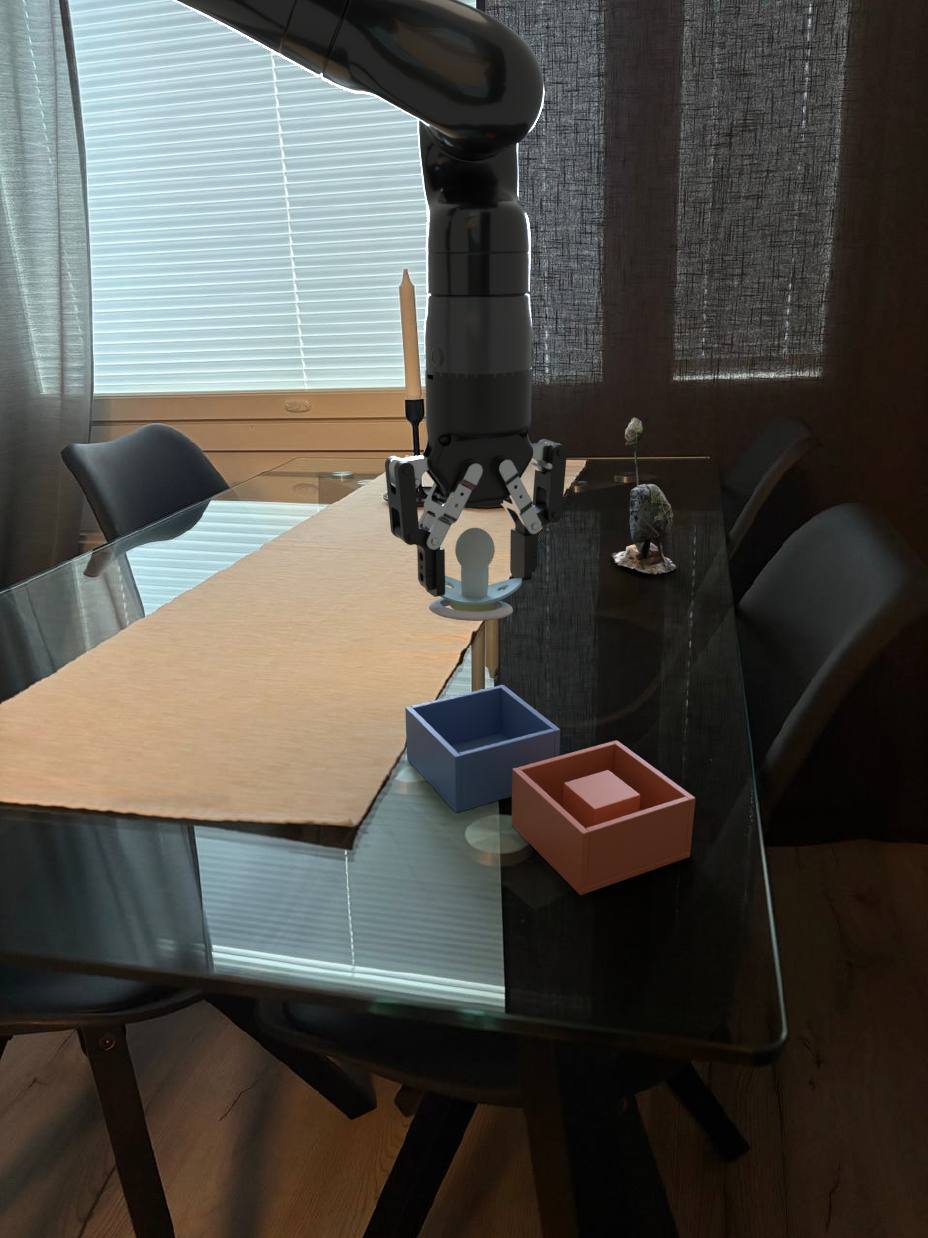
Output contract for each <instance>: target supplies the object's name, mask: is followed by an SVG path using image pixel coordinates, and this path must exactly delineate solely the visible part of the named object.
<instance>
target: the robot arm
mask: <svg viewBox="0 0 928 1238" xmlns="http://www.w3.org/2000/svg"><path fill="white" fill-rule="evenodd" d="M173 1H174V2H176V3H179V4H181V5H182V6H184V7H187V8H189V9H191V10H193V11H194V12H197V13H199V14H201V15H202V16H205V17H207V18H209V19H211V20H213V21H214V22H217V23H218V24H220V25H223V26H225V27H227V28H228V29H230V30H232V31H234V32H236V33H238V34H240V35H241V36H243V37H246V38H247V39H249V40H250V41H253V42H254V43H256V44H258V45H259V46H262V47H263V48H265V49H267V50H269V51H271V52H272V53H274V54H276V55H278V56H280V57H282V58H283V59H285V60H287V61H289V62H291V63H293V65H294V64H295V65H296V66H298V67H300V68H301V69H304V71H307V72H309V73H311V74H313V75H314V76H316V77H317V78H319V77H321V79H322V80H323V81H325V82H328V83H329V84H331V85H334V86H336V87H338V88H340V89H343V90H344V91H348V92H351V93H354V94H364V95H365V94H366V95H370V96H374V97H376V98H379V99H380V100H381V101H384V102H386V103H388V104H389V105H391V106H394V107H395V108H396V109H399V110H401V111H402V112H404V113H406V114H407V115H410V116H411V117H413V118H416V119H417V135H418V149H419V158H420V167H421V176H422V185H423V192H424V197H425V198H424V199H425V204H426V215H427V216H426V217H427V219H426V220H427V222H426V242H425V243H426V244H425V246H426V247H425V251H426V254H425V255H426V260H425V261H426V262H425V263H426V293H427V295H426V306H425V307H426V308H425V317H424V325H423V328H424V330H423V343H424V345H423V346H424V348H423V349H424V391H425V392H424V393H425V427H426V434H427V441H426V445H425V447H424V450H423V452H422V455H415V456H410V457H404V458H401V457H398V456H396V455H390V456H389V457H387V458H386V460H385V462H384V470H385V472H384V473H385V481H386V493H387V502H388V503H387V504H388V514H389V525H390V532H391V534H392V535H393V536H394V537H396V538H398V539H400V540H401V541H402V542H403V543H405V544H406V545H409V546H414V545H415V546H416V551H417V552H416V553H417V556H416V557H417V558H416V559H417V580H418V583H419V585H420V586H422V587H423V588H424V589H425V591H426V593H428V594H430V596H432V597H434V598H437V597H440V596H443V595H445V586H446V585H445V576H446V551H445V548H443V547H442V544H443V542H444V540H445V539H446V536H447V534H448V532H449V530H450V529H451V526H452V525H454V524H456V522H457V521H458V520H459V518H460V516H461V514H462V512H463V510H464V509H472V508H478V507H480V506H482V505H484V504H488V505H494V506H495V505H501V506H502V507H503V508H504V510H505V512H506V514H507V516H508V517H509V519H510V521H511V523H512V525H514V528H510V539H509V541H510V548H509V549H510V550H509V551H510V552H509V553H510V555H509V571H510V575H511V576H512V577H514V578H521V579H522V582H524V581H531V579H532V577H533V572H536V569H537V566H538V550H539V549H538V548H539V547H538V545H539V532H540V531H541V529H542V528H543V527H544V526H546V525H548V524H550V523H553V524H555V523H558V522H559V521H560V520H561V519H562V516H563V504H564V493H565V482H566V470H567V469H566V468H567V459H568V457H567V456H568V449H567V447H566V446H565V445H564V444H562V443H558V442H555V441H552V440H549V439H546V438H542V439H540V440H539V441H538V442H536V443H531V440H530V438H529V428H530V427H531V423H532V385H533V383H532V381H533V354H534V348H533V340H534V339H533V334H534V333H533V319H532V311H531V309H532V308H531V295H530V294H529V293H530V292H531V227H530V221H529V217H528V213H527V211H526V209H525V208H524V206H523V205H522V204H521V200H520V196H519V195H520V194H519V186H520V185H519V144H520V142H522V141H523V140H525V138H526V137H527V136H528V135H529V134H530V132H531V131H532V130H533V129H534V127H535V125H536V123H537V121H538V119H539V117H540V115H541V112H542V109H543V106H544V101H545V80H544V74H543V71H542V68H541V64H540V62H539V60H538V58H537V56H536V54H535V51H533V49H532V47H530V45H529V44H528V42H526V41H525V39H524V38H522V36H520V35H519V34H518V32H516V31H515V30H513V29H512V28H511V27H509V26H508V25H506V24H505V23H504V22H502V21H500V20H498V19H497V18H496V17H494V16H492V15H490V14H489V13H486V12H485V11H483V10H481V9H479V8H477V7H474V6H472V5H470V4H467V3H465V2H463V1H461V0H173ZM530 464H531V468H532V469H533V470H534V478H533V493H532V498H531V496H530V494H529V492H528V490H527V488H526V486H525V485H524V482H522V480H521V478H522V477H523V474H524V473H525V472H526V470H527V468H528V467H529V465H530ZM425 473H426V474H427V475H428V477H430V479H431V480H432V481H433V484H432V486H431V488H430V490H429V493H428V495H427V497H426V499H425V500H424V502H423V512H422V514H421V515H420V518H419V511H418V501H417V500H418V498H417V489H418V488H419V487H420V486H421V484H422V478H423V475H424V474H425Z"/></svg>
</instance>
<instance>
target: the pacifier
mask: <svg viewBox="0 0 928 1238" xmlns="http://www.w3.org/2000/svg"><path fill="white" fill-rule="evenodd" d="M495 548H496V547H495V543H494V540H493V537H492V536H491V535H490V533H489V532H487V530H485V529H483V528H480V527H471V528H467V529H466V530H464V531H462V533H461V534H460V535H459V536H458V538H457V540H456V543H455V548H454V551H455V552H454V553H455V557H456V560H457V562H458V563H459V565H460V580H459V579H457V578H453V577H451V576H448V575H445V595H443V596H439V597H440V598H438V599H436V600H434V601H432V602H430V604H429V605H428V609H429V611H431V613H433V614H435V615H437V616H439V617H443V618H445V619H451V620H456V621H466V622H467V621H468V622H488V621H489V622H490V621H497V620H501V619H505V618H507V617H509V616H511V615H512V614H513V612H514V609H513V607H512V606H511V605H510V604H509V603H507V602H505V601H502V600H504V599H506V598H507V597H509V596H511V595H512V594H514V593H515V592H516V591H518V589H519V588H521V586H522V584H523V581H522V579H521V578H515V577H514V578H509V579H506V580H502V581H497V582H494V583H490V584H489V578H490V577H489V573H490V572H489V571H490V569H489V568H490V567H489V566H490V564H492V561H493V559H494V556H495V552H496V551H495ZM448 586H449V587H448Z"/></svg>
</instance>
